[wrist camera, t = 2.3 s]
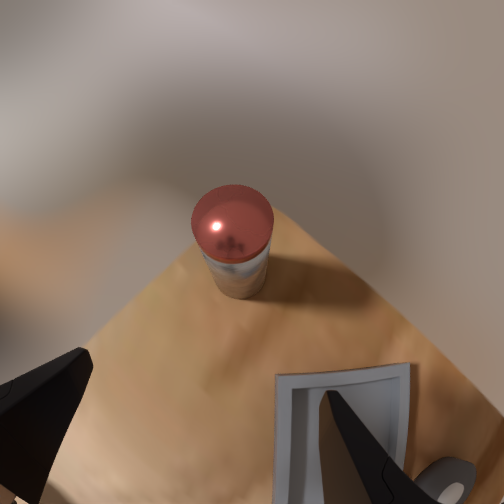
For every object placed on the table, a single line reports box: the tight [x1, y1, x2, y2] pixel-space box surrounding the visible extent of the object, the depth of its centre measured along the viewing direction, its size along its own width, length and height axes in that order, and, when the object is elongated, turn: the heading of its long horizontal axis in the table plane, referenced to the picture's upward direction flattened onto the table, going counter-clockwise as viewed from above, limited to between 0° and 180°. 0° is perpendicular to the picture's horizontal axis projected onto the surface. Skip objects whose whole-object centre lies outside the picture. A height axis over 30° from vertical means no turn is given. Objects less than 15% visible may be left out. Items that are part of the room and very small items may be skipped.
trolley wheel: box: [414, 457, 476, 504], centre depth 13 cm, size 8×8×4 cm
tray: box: [272, 363, 410, 504], centre depth 17 cm, size 16×11×2 cm
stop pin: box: [191, 185, 274, 299], centre depth 19 cm, size 4×4×10 cm
